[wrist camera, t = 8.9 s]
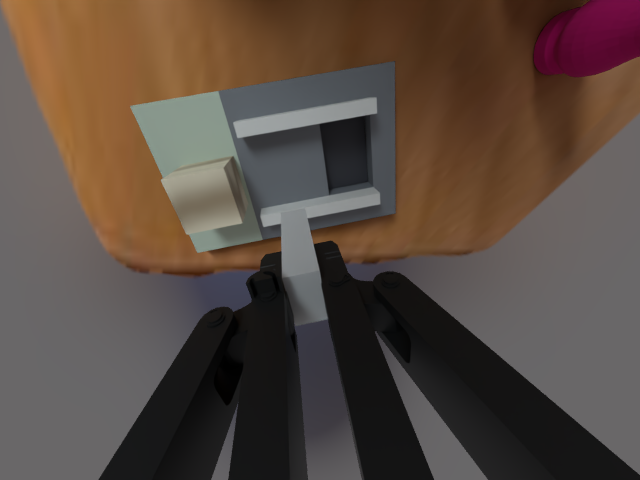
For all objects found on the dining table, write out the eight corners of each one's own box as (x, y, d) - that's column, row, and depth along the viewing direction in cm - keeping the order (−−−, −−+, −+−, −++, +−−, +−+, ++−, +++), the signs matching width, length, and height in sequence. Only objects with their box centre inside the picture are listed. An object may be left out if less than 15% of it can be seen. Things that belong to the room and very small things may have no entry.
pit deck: (141, 105, 29) (116, 106, 24) (386, 63, 30) (404, 57, 26) (202, 243, 37) (192, 262, 33) (388, 206, 39) (402, 220, 34)
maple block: (181, 165, 30) (160, 179, 25) (233, 155, 30) (223, 167, 25) (201, 212, 33) (186, 234, 27) (248, 203, 33) (242, 223, 28)
